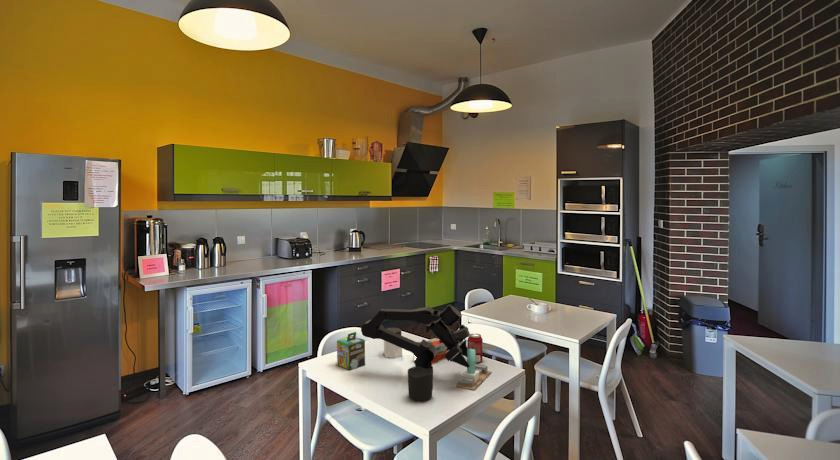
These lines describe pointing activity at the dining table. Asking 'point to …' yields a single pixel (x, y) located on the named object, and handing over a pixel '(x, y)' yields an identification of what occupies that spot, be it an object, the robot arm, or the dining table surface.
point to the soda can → (476, 346)
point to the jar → (392, 346)
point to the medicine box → (438, 350)
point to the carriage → (471, 366)
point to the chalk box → (351, 352)
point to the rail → (469, 382)
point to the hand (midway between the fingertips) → (470, 362)
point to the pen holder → (420, 384)
